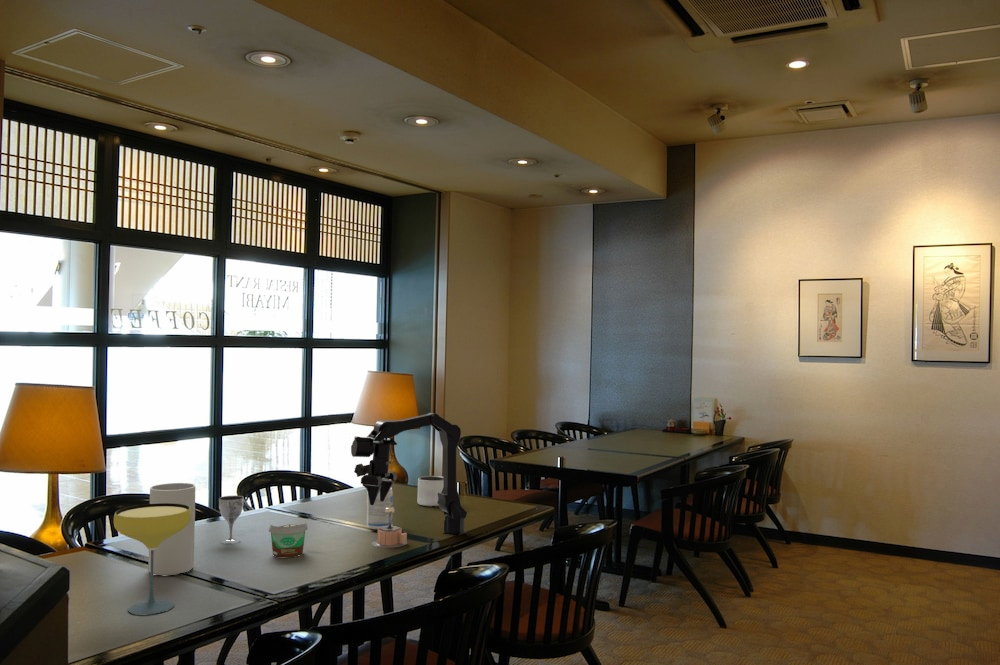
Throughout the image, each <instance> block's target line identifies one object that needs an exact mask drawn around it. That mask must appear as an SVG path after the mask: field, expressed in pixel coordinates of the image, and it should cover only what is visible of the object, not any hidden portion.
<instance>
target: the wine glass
mask: <svg viewBox="0 0 1000 665" xmlns="http://www.w3.org/2000/svg"><path fill="white" fill-rule="evenodd" d="M243 507H244V496H242V495H225V496H221V497H219V498H218V508H219V512H220V515H221V517H222V518H223V519H224V520H225V521H226V523H227V525H228V528H229V529H228V530H229V537H228V538H227V540H226V539H225V540H226V541H235V540H237V539H238V538H234V537H233V526H234V524H235V522H236V521H237V520H238V518H239V517H241V516H240V515H242V513H243V509H244V508H243Z"/></svg>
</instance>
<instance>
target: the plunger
mask: <svg viewBox="0 0 1000 665" xmlns="http://www.w3.org/2000/svg"><path fill="white" fill-rule="evenodd" d="M385 512H386V513H388V529H391V513H393V514H394V513H395V507H394V506H393V507H387V508H386V511H385ZM388 532H392V531H388Z"/></svg>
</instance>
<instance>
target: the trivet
mask: <svg viewBox="0 0 1000 665" xmlns="http://www.w3.org/2000/svg"><path fill="white" fill-rule="evenodd" d="M407 544H408V541H407V542H406V543H403V544H399V545H395V546H382V545H379V544H378V542H377V540H374V541H372V542H371V545H372V546H373V547H377V548H386V549H390V548H399V547H403V546H405V545H407Z"/></svg>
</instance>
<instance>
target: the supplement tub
mask: <svg viewBox="0 0 1000 665" xmlns="http://www.w3.org/2000/svg"><path fill="white" fill-rule="evenodd" d="M393 497H394V496H393V488H392V487H391V489H390V490H389V492H388V494H387V496H386V498H385V500H384V501H383V502H382V501H380V491H379V493H378V496H377V498H376V501H375V503H374V505H370V501H369V495H368V491H367V490H366V527H367V529H372V530H378V528H380V527H383V526H388V513H386V512H385V511H386V508H387V507H393V508H394V506H393V502H394V501H393V500H394V498H393ZM393 514H394V513H391V526H394V525H393V524H394V523H393V520H394V519H393V516H394V515H393Z"/></svg>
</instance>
